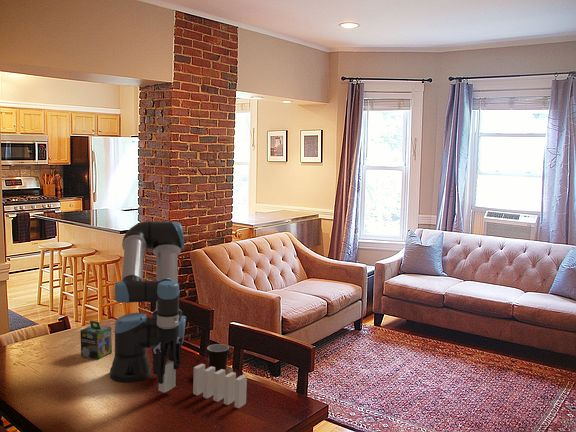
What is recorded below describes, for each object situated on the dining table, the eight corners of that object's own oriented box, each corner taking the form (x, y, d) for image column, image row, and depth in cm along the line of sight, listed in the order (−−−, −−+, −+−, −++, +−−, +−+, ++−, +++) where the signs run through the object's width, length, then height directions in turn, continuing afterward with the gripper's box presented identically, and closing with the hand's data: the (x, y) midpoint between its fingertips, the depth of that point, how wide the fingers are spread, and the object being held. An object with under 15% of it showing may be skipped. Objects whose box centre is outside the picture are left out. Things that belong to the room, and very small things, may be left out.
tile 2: (193, 394, 190) (193, 367, 189) (200, 389, 194) (201, 363, 193) (197, 395, 189) (197, 368, 188) (204, 391, 193) (205, 364, 192)
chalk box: (112, 352, 227) (112, 319, 226) (97, 360, 219) (97, 325, 217) (95, 349, 231) (95, 316, 229) (79, 356, 222) (79, 322, 220)
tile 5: (223, 403, 184) (224, 376, 183) (231, 399, 188) (231, 371, 187) (228, 405, 183) (228, 377, 182) (235, 400, 187) (236, 372, 186)
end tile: (161, 391, 188) (161, 364, 186) (169, 386, 192) (169, 360, 190) (164, 392, 187) (165, 365, 186) (173, 387, 191) (173, 361, 189)
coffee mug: (224, 377, 206) (225, 352, 205) (203, 375, 207) (203, 350, 206) (233, 366, 217) (234, 342, 216) (213, 364, 219) (214, 340, 218)
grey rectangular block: (234, 407, 182) (235, 379, 181) (241, 402, 185) (242, 374, 184) (238, 408, 181) (239, 380, 180) (246, 403, 185) (246, 375, 184)
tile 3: (203, 397, 188) (203, 370, 187) (210, 392, 192) (211, 366, 191) (207, 398, 187) (207, 371, 186) (214, 394, 191) (215, 367, 190)
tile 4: (213, 400, 186) (213, 373, 185) (220, 395, 190) (221, 369, 189) (217, 401, 185) (218, 374, 184) (224, 397, 189) (225, 370, 188)
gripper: (158, 335, 177) (157, 401, 180) (192, 320, 192) (191, 382, 195) (141, 330, 180) (141, 395, 183) (176, 316, 195) (175, 377, 199)
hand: (167, 388), depth 189 cm, fingers closed on end tile, 4 cm apart
